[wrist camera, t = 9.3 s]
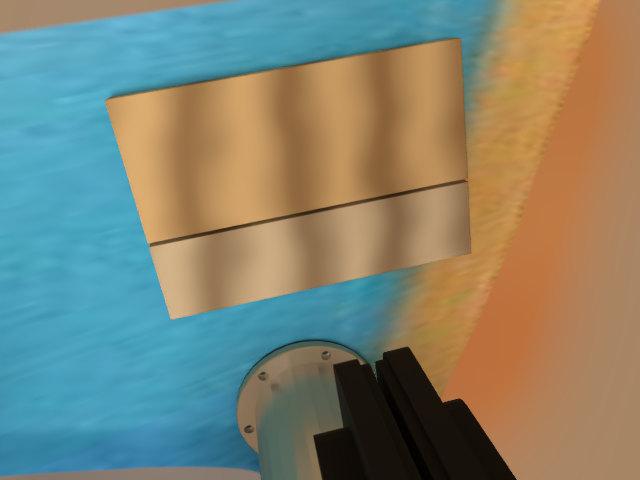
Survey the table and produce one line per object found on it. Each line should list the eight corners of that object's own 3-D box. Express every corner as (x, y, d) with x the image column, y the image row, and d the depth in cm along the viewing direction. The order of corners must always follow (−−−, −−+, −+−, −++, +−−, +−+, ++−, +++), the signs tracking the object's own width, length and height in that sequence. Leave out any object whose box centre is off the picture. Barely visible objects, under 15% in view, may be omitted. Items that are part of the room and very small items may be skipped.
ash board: (457, 175, 41) (467, 182, 40) (460, 244, 44) (471, 253, 42) (152, 237, 39) (149, 247, 37) (173, 306, 41) (171, 319, 39)
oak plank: (449, 38, 38) (460, 37, 36) (456, 172, 41) (467, 178, 39) (110, 97, 35) (104, 100, 33) (151, 234, 39) (147, 243, 37)
